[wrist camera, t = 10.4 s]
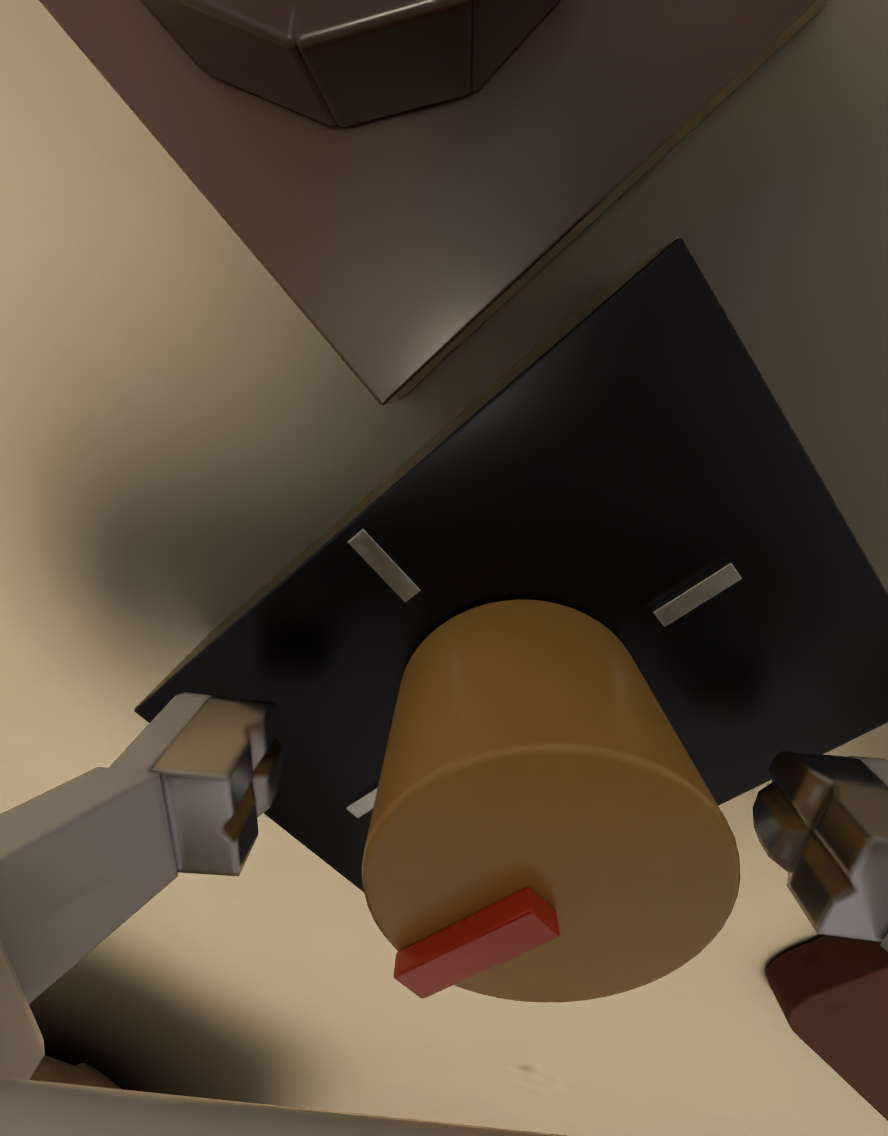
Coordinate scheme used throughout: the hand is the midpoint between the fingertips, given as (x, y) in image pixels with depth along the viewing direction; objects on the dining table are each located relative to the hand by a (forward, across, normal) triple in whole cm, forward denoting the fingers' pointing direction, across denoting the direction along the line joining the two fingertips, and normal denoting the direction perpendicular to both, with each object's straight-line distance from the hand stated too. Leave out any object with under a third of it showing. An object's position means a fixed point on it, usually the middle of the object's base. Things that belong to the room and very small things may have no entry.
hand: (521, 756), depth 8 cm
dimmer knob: (+1, 0, 0) cm, 1 cm away
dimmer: (+4, 0, 0) cm, 4 cm away
